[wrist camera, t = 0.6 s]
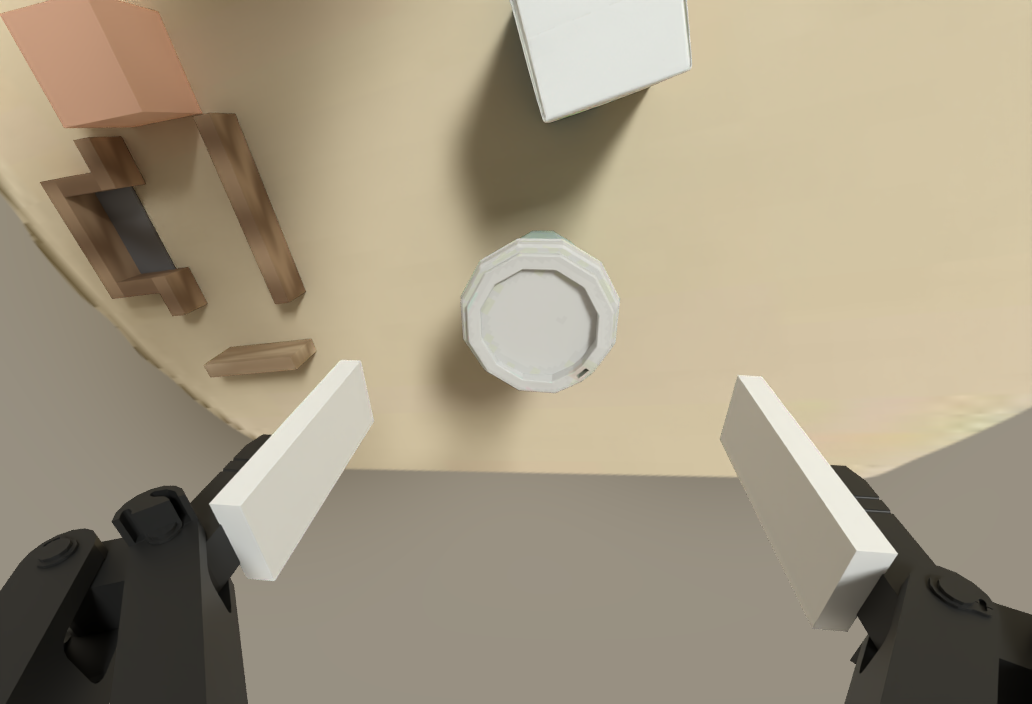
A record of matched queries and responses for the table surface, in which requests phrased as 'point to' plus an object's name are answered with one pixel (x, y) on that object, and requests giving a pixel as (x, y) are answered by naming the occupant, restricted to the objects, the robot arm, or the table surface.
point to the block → (102, 62)
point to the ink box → (599, 49)
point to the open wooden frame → (142, 256)
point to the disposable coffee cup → (540, 313)
